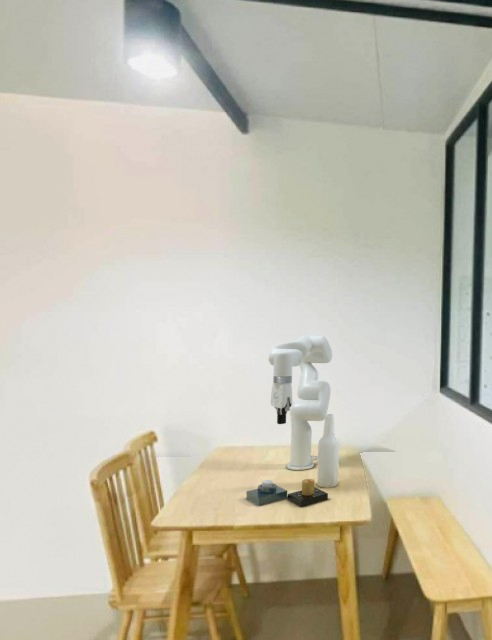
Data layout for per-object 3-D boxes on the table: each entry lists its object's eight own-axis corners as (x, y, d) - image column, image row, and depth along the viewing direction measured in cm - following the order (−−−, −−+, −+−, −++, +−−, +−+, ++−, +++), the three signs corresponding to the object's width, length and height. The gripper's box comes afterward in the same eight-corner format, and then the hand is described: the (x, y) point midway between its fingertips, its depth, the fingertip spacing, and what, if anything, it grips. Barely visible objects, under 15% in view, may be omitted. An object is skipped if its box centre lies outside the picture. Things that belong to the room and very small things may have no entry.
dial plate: (313, 493, 206) (314, 486, 206) (327, 499, 199) (328, 492, 199) (287, 500, 197) (287, 493, 197) (301, 507, 190) (301, 500, 190)
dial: (299, 493, 198) (299, 479, 198) (309, 490, 202) (310, 477, 202) (306, 496, 195) (306, 482, 195) (316, 493, 198) (316, 480, 198)
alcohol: (337, 487, 213) (339, 416, 213) (316, 488, 212) (318, 417, 212) (338, 480, 222) (340, 412, 222) (317, 481, 220) (319, 413, 221)
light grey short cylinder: (269, 484, 201) (269, 479, 201) (274, 487, 199) (274, 481, 199) (260, 486, 199) (260, 481, 199) (264, 489, 196) (265, 484, 196)
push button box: (274, 491, 206) (274, 479, 206) (287, 498, 199) (287, 485, 200) (246, 498, 198) (246, 486, 198) (258, 506, 191) (258, 492, 191)
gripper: (265, 378, 214) (264, 421, 214) (283, 382, 204) (282, 428, 204) (281, 377, 219) (280, 419, 219) (300, 381, 209) (298, 425, 209)
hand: (281, 423), depth 212 cm, fingers closed
